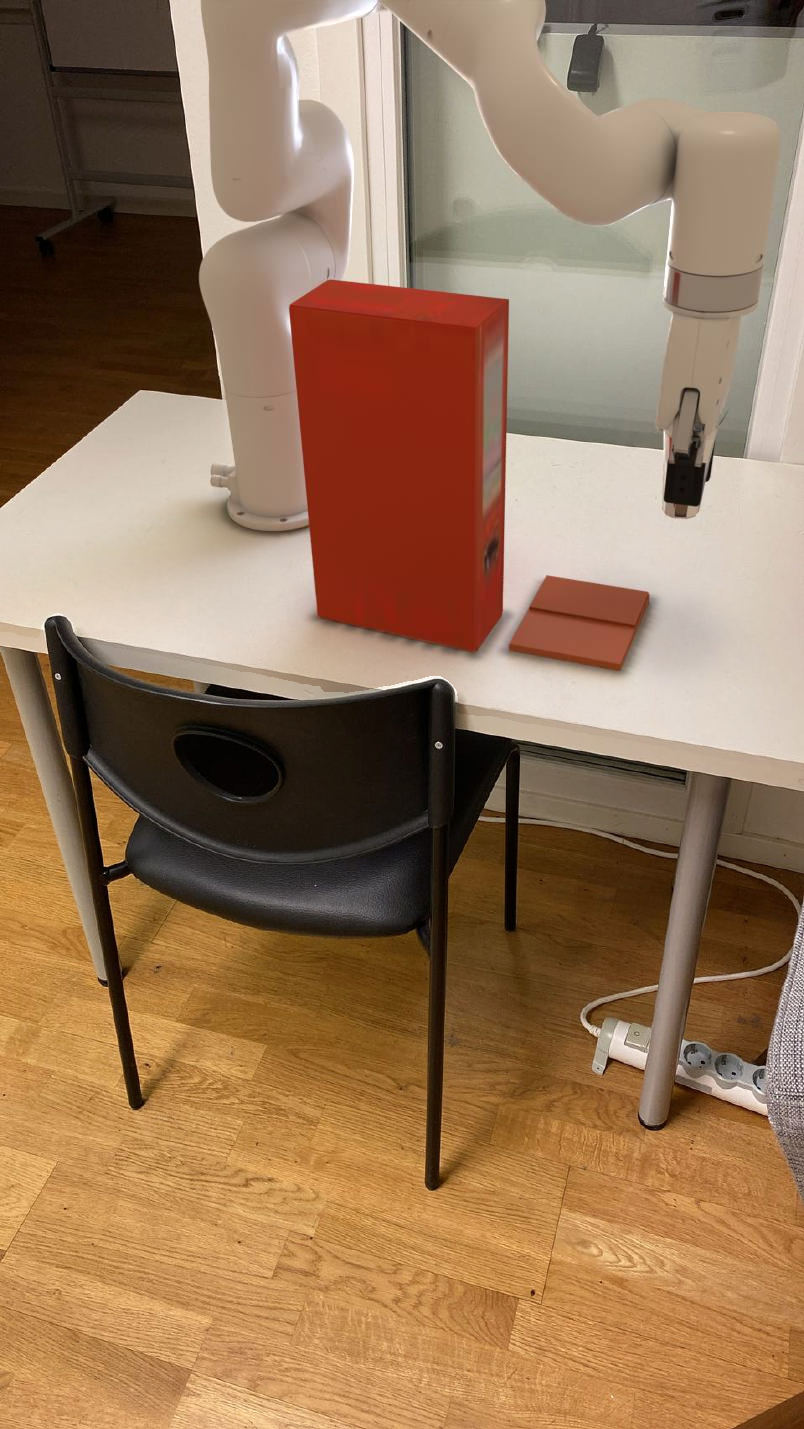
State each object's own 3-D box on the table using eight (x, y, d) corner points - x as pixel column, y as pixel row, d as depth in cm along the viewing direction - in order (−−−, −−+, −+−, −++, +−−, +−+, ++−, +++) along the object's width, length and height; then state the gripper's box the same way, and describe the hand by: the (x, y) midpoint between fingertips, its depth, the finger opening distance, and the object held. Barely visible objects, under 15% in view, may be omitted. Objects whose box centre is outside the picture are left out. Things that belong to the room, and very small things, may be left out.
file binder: (353, 580, 126) (330, 277, 107) (503, 612, 120) (509, 297, 101) (317, 619, 121) (286, 306, 101) (474, 654, 114) (473, 329, 95)
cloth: (508, 650, 115) (508, 641, 114) (545, 583, 124) (545, 574, 124) (620, 671, 111) (620, 661, 111) (649, 600, 121) (650, 591, 120)
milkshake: (715, 525, 105) (730, 419, 99) (654, 521, 106) (665, 416, 100) (715, 501, 108) (729, 398, 102) (655, 498, 109) (666, 395, 103)
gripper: (684, 251, 102) (664, 446, 113) (643, 316, 90) (624, 528, 101) (773, 257, 100) (743, 456, 111) (743, 325, 87) (713, 541, 99)
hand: (687, 489), depth 106 cm, fingers closed on milkshake, 4 cm apart
